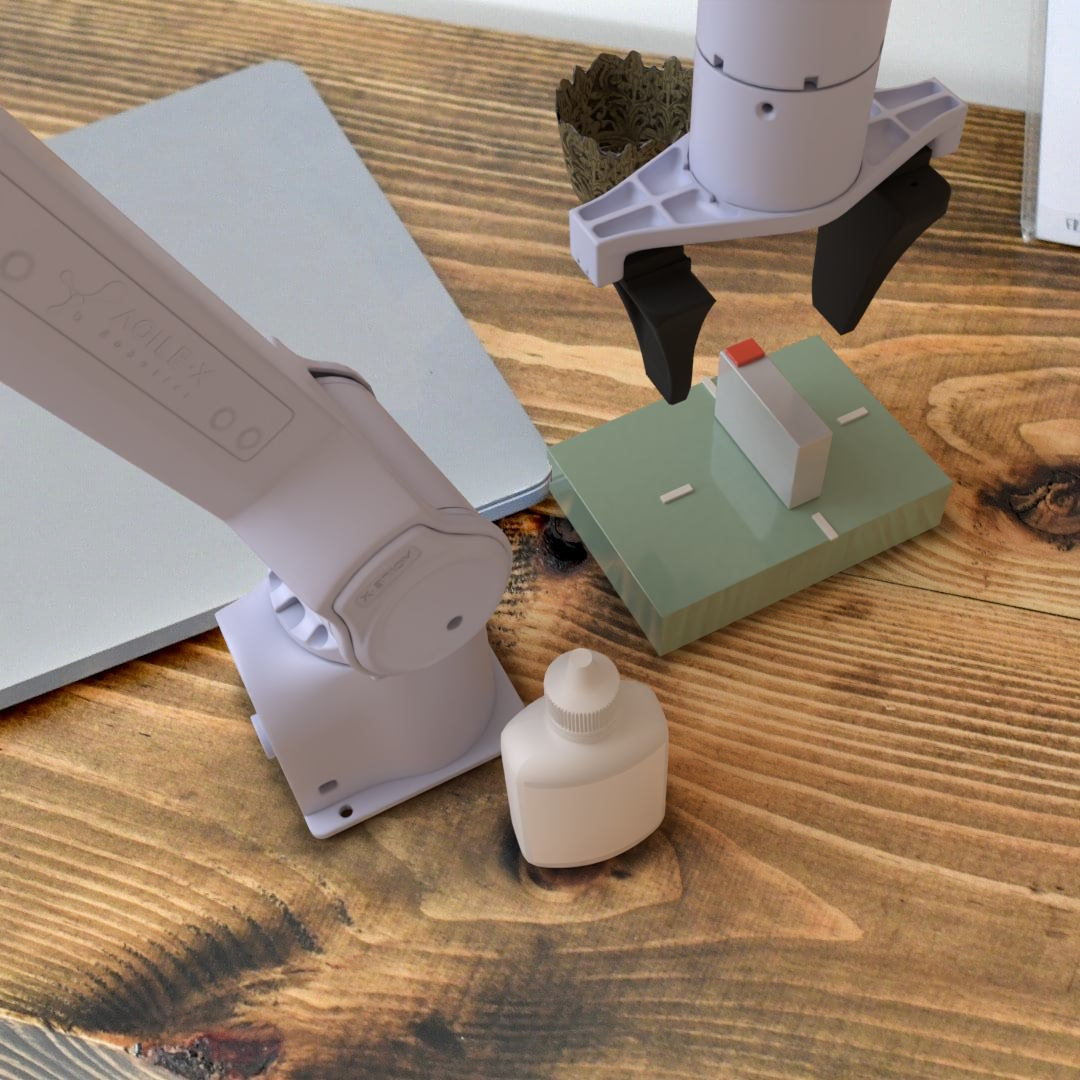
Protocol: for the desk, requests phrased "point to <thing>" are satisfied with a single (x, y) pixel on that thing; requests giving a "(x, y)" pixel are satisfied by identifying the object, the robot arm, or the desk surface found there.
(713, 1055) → the desk surface
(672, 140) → the cup
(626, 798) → the eye dropper bottle
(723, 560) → the plate
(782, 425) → the tap handle
